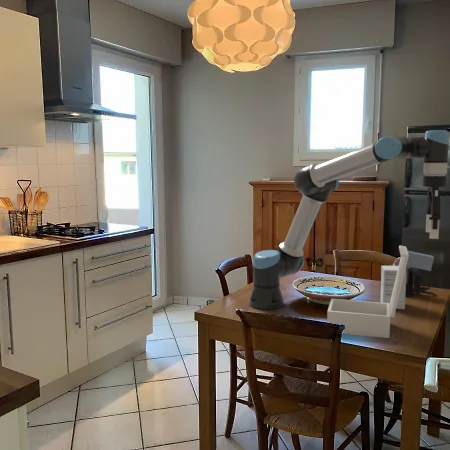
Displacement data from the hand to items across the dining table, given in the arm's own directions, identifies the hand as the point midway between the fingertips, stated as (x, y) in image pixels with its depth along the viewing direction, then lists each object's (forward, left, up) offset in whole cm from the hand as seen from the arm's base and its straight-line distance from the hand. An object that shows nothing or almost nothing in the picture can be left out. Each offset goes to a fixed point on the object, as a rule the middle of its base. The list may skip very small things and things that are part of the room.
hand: (431, 235), depth 167 cm
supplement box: (-11, +31, -37) cm, 49 cm away
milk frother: (-2, +52, -37) cm, 64 cm away
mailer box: (-24, 0, -37) cm, 44 cm away
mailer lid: (-12, 0, -17) cm, 21 cm away
